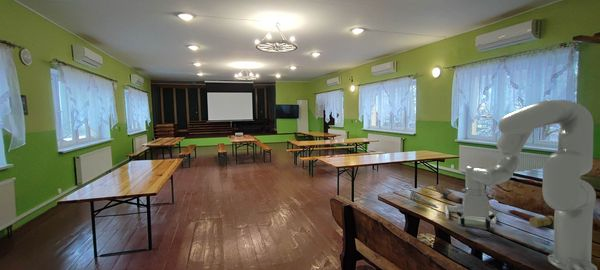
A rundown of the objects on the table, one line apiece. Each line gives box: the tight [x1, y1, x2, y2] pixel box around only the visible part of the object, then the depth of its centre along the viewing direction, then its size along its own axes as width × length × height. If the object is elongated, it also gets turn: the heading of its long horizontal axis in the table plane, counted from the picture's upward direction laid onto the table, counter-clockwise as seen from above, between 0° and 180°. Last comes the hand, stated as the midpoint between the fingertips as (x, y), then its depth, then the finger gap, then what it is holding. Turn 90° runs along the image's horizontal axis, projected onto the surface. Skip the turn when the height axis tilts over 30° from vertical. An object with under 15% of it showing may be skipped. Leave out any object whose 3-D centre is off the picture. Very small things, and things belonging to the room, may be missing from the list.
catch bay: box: [444, 204, 497, 224], centre depth 145 cm, size 13×22×3 cm, turn 66°
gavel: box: [507, 209, 554, 229], centre depth 138 cm, size 21×5×10 cm
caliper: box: [410, 190, 439, 209], centre depth 169 cm, size 20×1×6 cm, turn 23°
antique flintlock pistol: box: [434, 182, 463, 204], centre depth 168 cm, size 6×30×10 cm, turn 18°
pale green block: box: [457, 215, 488, 231], centre depth 134 cm, size 5×12×4 cm, turn 52°
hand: (475, 226), depth 128 cm, fingers open, 9 cm apart
